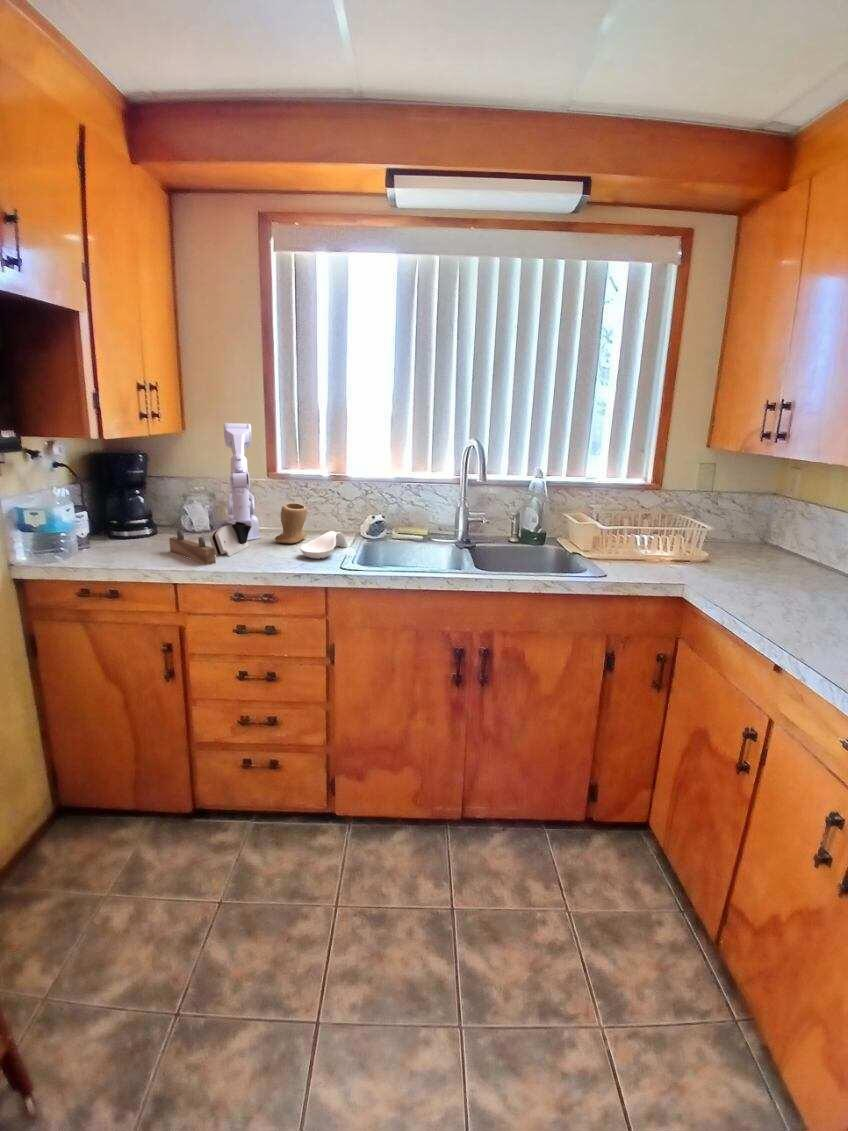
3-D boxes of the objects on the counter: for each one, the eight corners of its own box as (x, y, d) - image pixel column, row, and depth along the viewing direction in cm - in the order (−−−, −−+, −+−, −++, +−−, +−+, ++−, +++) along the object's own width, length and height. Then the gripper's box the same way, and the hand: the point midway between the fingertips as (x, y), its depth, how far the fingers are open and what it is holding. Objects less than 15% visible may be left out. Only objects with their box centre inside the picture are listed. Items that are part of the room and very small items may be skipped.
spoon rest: (323, 563, 190) (323, 542, 189) (293, 559, 194) (293, 538, 192) (355, 548, 212) (355, 530, 210) (327, 545, 216) (327, 527, 214)
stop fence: (178, 550, 199) (176, 528, 197) (215, 563, 185) (214, 539, 183) (170, 551, 197) (168, 529, 195) (207, 564, 182) (205, 540, 180)
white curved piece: (228, 556, 193) (217, 529, 191) (216, 560, 194) (205, 533, 192) (249, 545, 209) (239, 520, 207) (238, 549, 210) (228, 524, 208)
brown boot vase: (300, 546, 212) (299, 507, 208) (270, 544, 214) (269, 505, 210) (315, 538, 226) (314, 501, 222) (287, 536, 228) (286, 499, 224)
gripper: (219, 504, 203) (221, 541, 207) (243, 509, 194) (244, 548, 198) (237, 502, 208) (238, 538, 212) (260, 507, 200) (261, 545, 203)
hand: (242, 543), depth 205 cm, fingers closed
